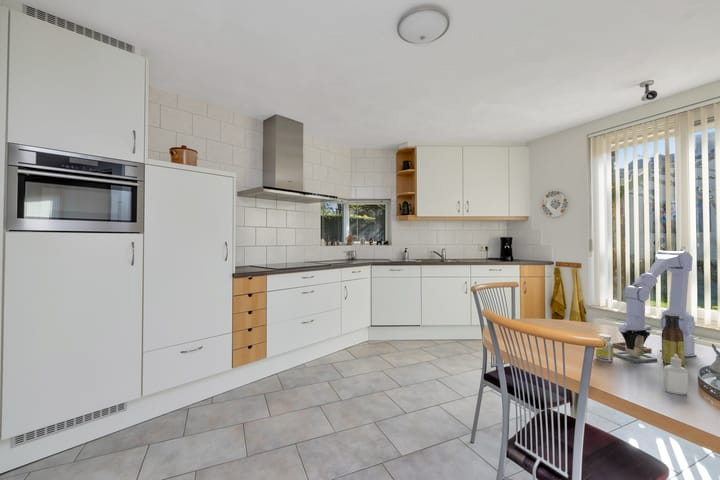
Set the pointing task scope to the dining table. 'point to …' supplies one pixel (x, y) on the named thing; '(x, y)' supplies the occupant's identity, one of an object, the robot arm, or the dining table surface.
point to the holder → (622, 345)
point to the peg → (636, 347)
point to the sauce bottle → (672, 340)
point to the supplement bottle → (605, 350)
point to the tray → (635, 359)
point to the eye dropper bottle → (675, 377)
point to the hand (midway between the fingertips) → (634, 348)
